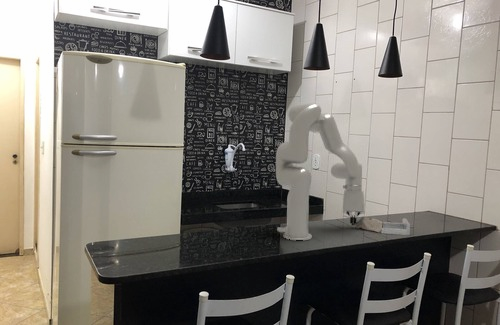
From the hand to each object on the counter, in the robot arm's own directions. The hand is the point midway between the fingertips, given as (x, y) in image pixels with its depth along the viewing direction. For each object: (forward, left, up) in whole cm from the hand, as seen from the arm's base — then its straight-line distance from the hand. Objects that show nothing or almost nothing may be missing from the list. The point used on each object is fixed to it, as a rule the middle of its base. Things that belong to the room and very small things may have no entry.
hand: (353, 224), depth 199 cm
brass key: (+20, +13, -2) cm, 24 cm away
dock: (+19, 0, -2) cm, 19 cm away
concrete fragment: (+8, -1, -2) cm, 8 cm away
